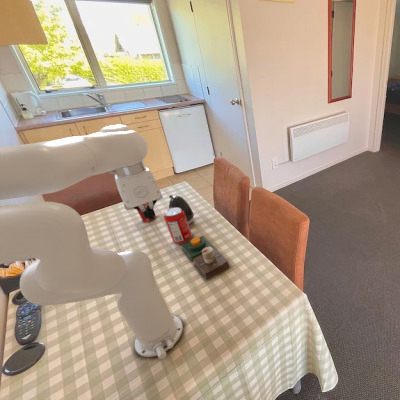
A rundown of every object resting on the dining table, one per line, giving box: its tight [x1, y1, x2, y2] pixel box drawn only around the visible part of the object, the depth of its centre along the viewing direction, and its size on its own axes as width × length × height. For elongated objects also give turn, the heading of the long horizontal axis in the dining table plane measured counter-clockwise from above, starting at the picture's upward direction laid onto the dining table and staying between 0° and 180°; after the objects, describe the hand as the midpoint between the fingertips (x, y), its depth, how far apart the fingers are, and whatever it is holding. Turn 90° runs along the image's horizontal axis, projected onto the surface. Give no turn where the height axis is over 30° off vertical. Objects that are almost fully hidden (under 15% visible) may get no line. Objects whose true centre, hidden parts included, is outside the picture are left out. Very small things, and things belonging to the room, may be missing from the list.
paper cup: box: [136, 203, 156, 223], centre depth 129 cm, size 8×8×14 cm
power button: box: [190, 237, 201, 246], centre depth 110 cm, size 4×4×2 cm
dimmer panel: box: [193, 247, 230, 280], centre depth 103 cm, size 11×9×3 cm
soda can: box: [163, 207, 193, 245], centre depth 115 cm, size 8×8×15 cm
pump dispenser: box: [168, 194, 195, 226], centre depth 125 cm, size 10×10×15 cm
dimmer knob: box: [202, 247, 216, 264], centre depth 101 cm, size 4×4×5 cm
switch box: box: [181, 235, 214, 262], centre depth 111 cm, size 10×9×4 cm
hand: (151, 218), depth 88 cm, fingers closed
